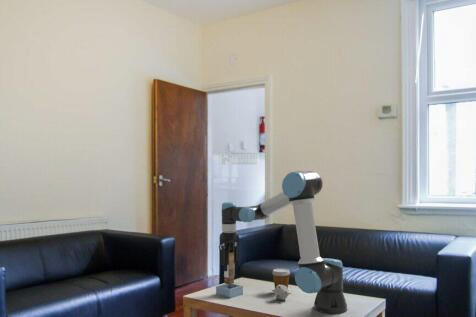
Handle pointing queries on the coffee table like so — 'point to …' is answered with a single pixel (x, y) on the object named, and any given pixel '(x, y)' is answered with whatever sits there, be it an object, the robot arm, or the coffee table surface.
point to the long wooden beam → (230, 269)
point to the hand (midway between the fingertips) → (229, 276)
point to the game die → (281, 292)
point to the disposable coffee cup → (281, 277)
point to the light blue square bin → (229, 290)
